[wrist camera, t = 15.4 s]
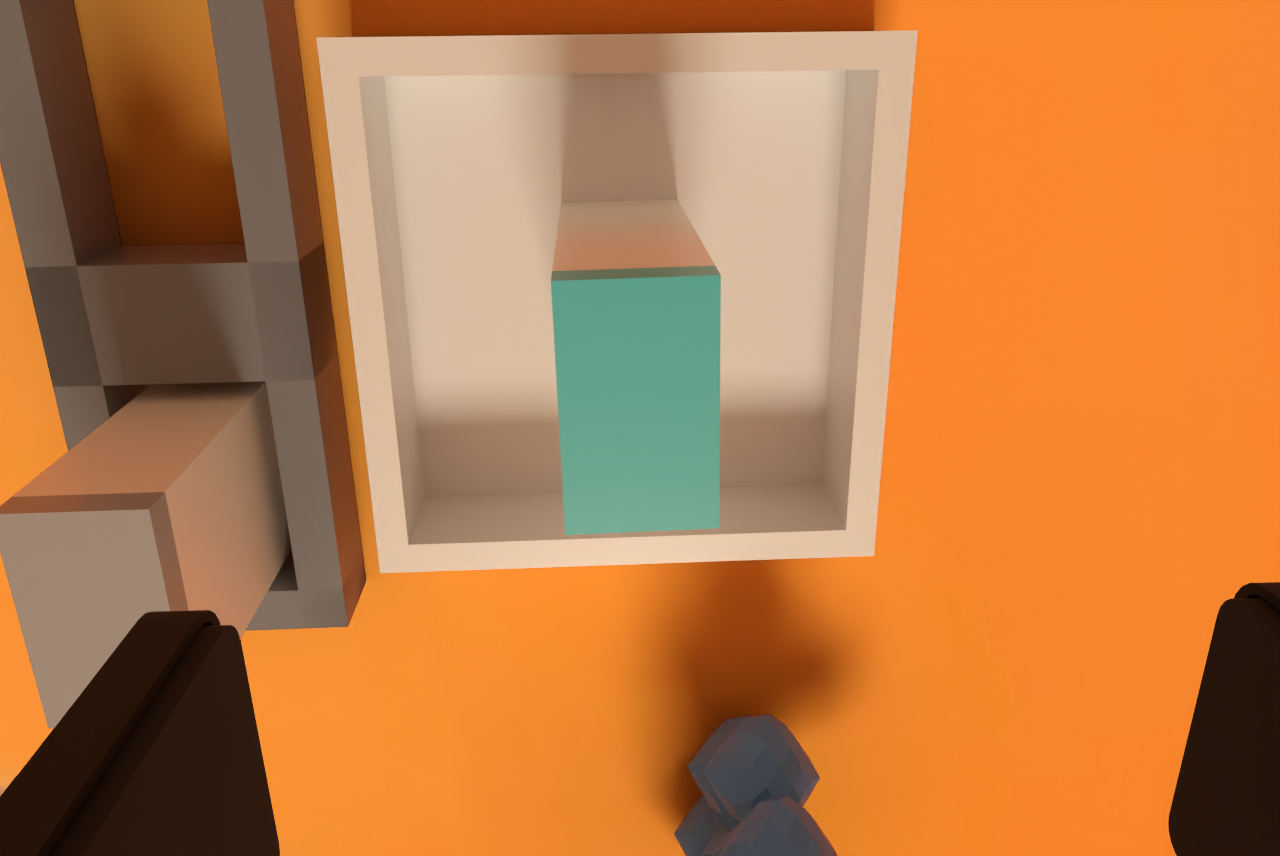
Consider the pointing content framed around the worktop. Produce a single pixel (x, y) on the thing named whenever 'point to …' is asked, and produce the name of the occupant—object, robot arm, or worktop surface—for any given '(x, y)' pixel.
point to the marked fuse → (636, 368)
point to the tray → (523, 260)
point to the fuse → (145, 528)
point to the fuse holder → (191, 276)
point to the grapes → (752, 794)
